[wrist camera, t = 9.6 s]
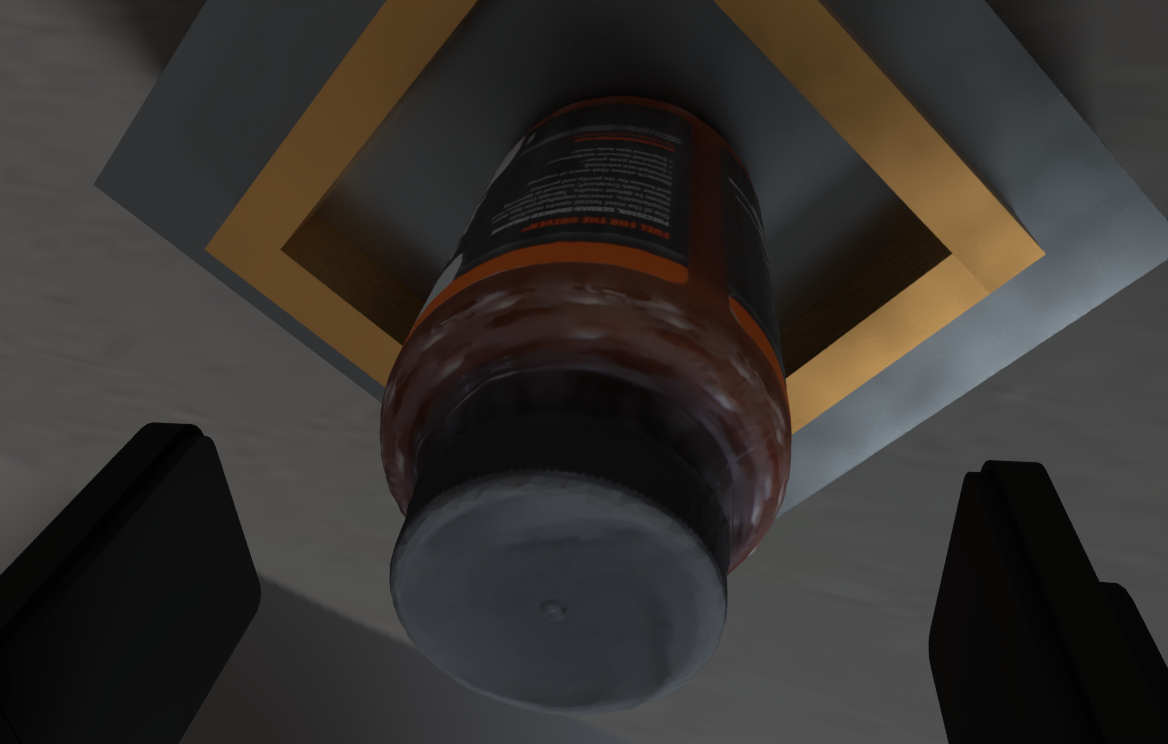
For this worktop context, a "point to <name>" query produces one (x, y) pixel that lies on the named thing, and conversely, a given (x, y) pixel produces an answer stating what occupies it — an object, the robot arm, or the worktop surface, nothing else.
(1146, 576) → the worktop surface
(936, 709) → the worktop surface
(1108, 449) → the worktop surface
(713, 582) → the supplement bottle
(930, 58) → the grey orange open tray
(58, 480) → the worktop surface
